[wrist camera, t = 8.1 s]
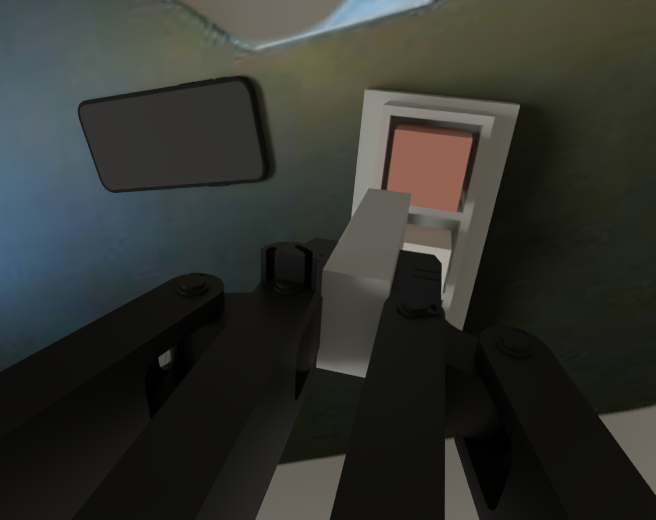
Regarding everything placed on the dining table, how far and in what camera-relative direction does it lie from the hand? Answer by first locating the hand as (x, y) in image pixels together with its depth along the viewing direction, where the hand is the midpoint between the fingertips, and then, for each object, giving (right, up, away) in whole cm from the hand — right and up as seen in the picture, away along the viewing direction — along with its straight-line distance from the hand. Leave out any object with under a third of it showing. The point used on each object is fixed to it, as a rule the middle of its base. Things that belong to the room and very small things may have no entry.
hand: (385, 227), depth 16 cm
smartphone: (-14, +8, +17) cm, 24 cm away
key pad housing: (+4, +1, +15) cm, 16 cm away
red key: (+4, +5, +11) cm, 12 cm away
